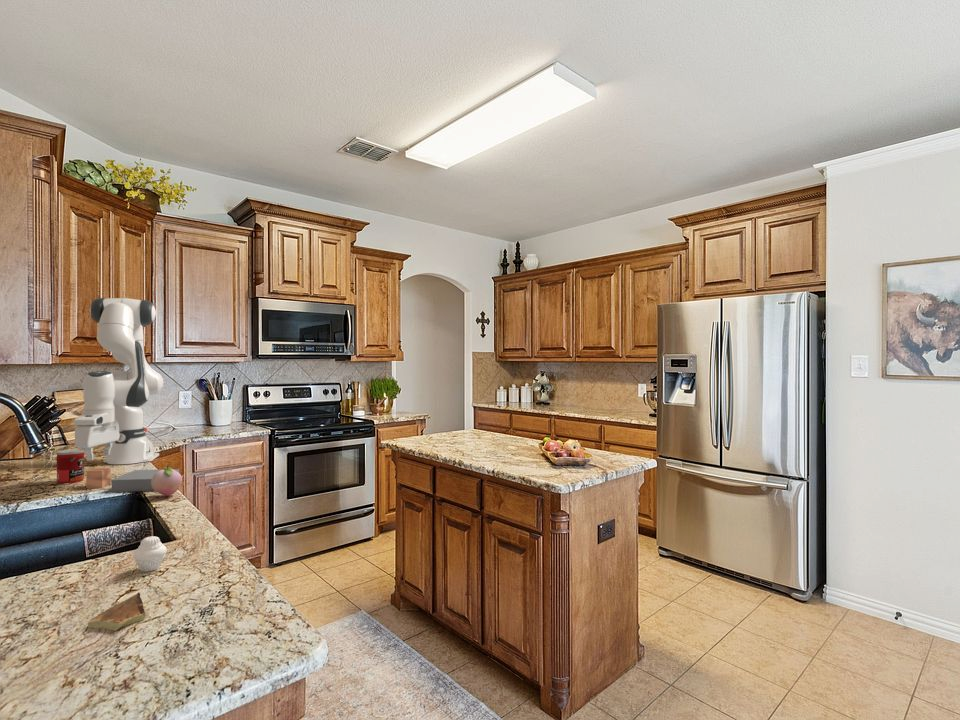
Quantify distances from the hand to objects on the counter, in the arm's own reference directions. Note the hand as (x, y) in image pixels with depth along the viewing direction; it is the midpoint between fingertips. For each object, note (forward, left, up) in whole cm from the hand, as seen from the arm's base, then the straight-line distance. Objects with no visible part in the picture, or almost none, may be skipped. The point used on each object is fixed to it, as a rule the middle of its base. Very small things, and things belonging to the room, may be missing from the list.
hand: (98, 457), depth 178 cm
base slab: (+1, +16, -10) cm, 19 cm away
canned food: (-9, -14, -10) cm, 20 cm away
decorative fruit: (+17, +29, -10) cm, 35 cm away
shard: (+98, +55, -11) cm, 112 cm away
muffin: (+77, +51, -10) cm, 92 cm away
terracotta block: (0, 0, -10) cm, 10 cm away
